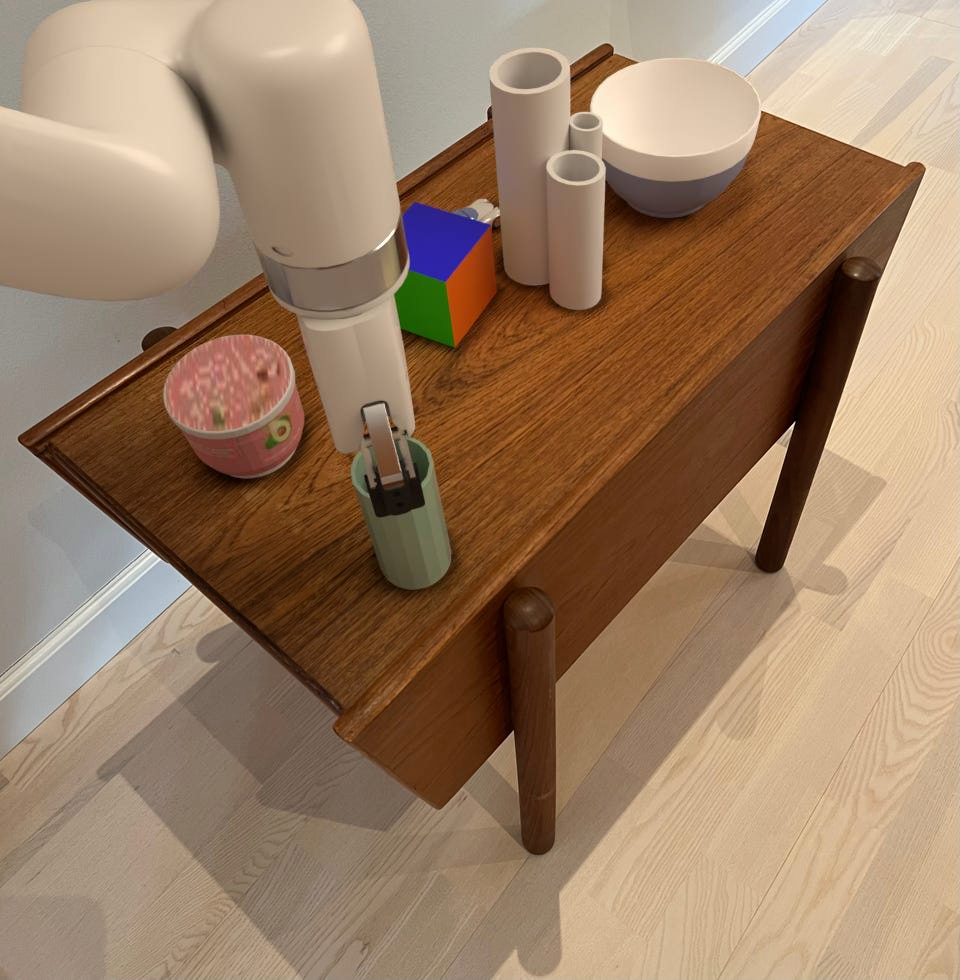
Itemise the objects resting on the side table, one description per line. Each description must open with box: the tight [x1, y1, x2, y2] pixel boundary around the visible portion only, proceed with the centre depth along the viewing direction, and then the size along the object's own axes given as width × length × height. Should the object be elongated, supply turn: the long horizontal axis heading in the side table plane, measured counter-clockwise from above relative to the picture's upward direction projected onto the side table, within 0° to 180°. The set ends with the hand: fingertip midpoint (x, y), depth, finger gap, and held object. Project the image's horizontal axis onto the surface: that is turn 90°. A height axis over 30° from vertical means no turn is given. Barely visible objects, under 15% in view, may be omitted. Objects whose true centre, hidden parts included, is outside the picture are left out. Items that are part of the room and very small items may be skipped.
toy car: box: [451, 198, 501, 230], centre depth 94 cm, size 4×12×3 cm, turn 126°
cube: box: [394, 201, 498, 349], centre depth 86 cm, size 8×8×8 cm
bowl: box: [589, 57, 762, 219], centre depth 93 cm, size 16×16×10 cm
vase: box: [488, 47, 606, 311], centre depth 83 cm, size 11×7×20 cm, turn 50°
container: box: [162, 334, 305, 479], centre depth 78 cm, size 10×10×8 cm
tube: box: [349, 435, 452, 591], centre depth 69 cm, size 6×6×12 cm
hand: (385, 450), depth 62 cm, fingers open, 9 cm apart
